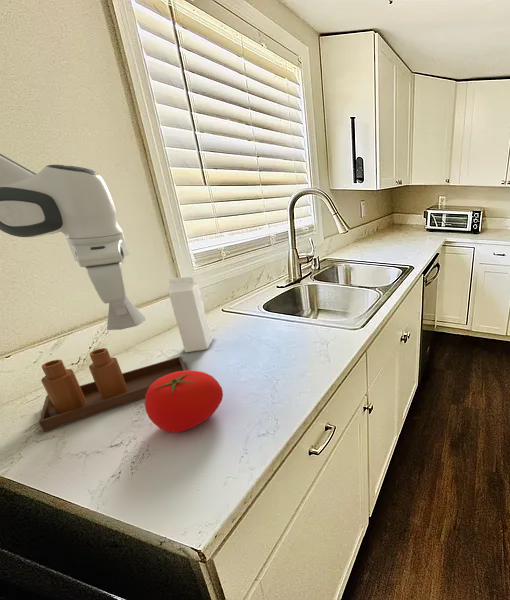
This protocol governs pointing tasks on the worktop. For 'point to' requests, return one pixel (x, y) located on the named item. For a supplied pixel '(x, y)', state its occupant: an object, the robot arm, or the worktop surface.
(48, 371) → the spice bottle
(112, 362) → the spice bottle
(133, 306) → the flask
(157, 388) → the tomato
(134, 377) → the tray
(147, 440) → the worktop surface
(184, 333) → the milk
